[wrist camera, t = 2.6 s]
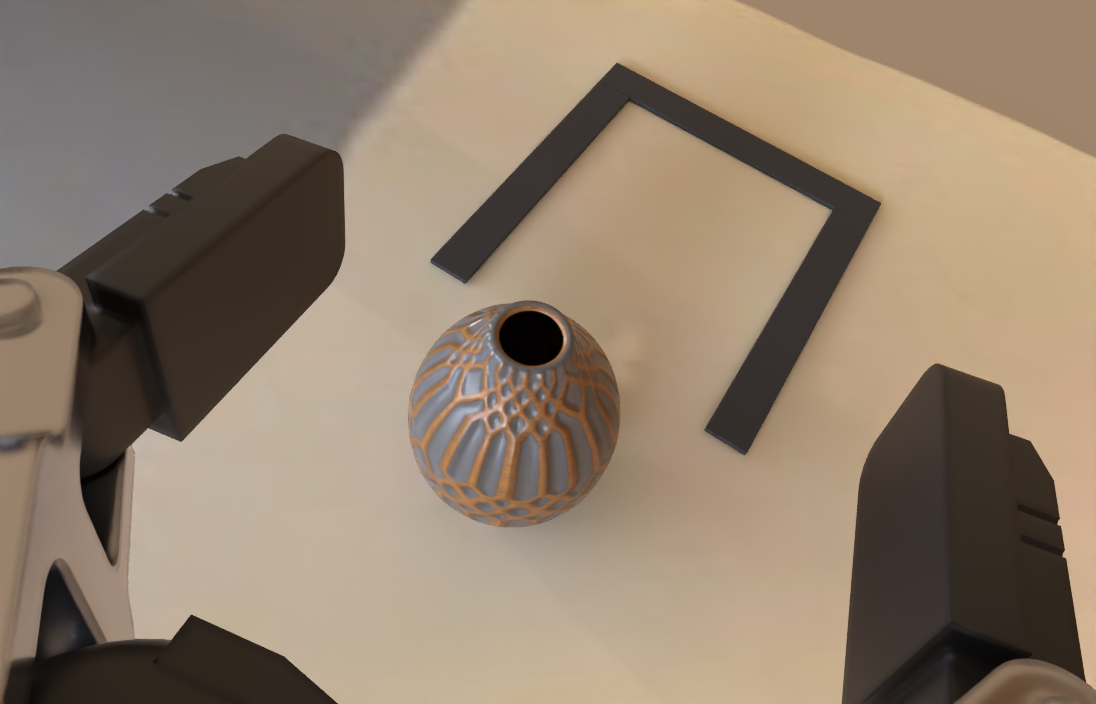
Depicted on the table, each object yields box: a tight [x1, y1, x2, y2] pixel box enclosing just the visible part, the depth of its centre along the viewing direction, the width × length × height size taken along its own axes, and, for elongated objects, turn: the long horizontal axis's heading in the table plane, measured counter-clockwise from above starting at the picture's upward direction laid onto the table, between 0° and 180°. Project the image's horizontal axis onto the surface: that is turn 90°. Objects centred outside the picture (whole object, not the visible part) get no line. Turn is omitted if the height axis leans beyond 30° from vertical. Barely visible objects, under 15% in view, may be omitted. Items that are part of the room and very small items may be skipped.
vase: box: [408, 301, 620, 527], centre depth 25 cm, size 7×7×9 cm
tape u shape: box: [431, 63, 881, 455], centre depth 36 cm, size 15×16×1 cm
